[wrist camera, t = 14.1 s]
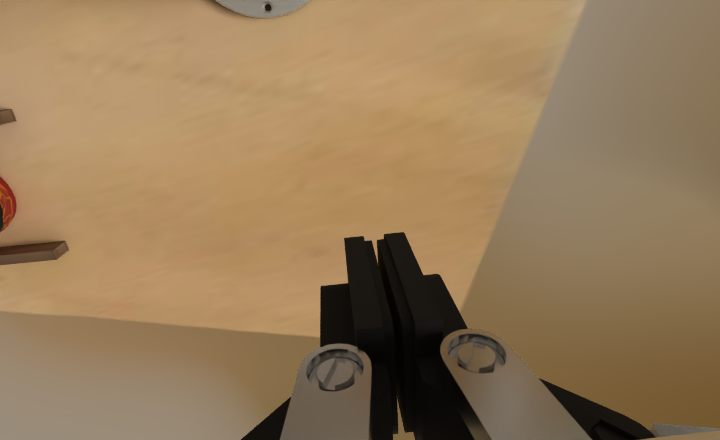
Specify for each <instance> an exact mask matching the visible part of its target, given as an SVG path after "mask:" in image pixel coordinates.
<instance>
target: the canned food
mask: <svg viewBox="0 0 720 440" xmlns="http://www.w3.org/2000/svg"><path fill="white" fill-rule="evenodd" d="M15 212H16V200H15V197H14V194H13V192H12V190H11V189H10V187H9V186H8V184H7V183H6V182H5V181H4V180H3V179H2V178H1V177H0V232H1V231H3V230H4V229H5V228H6V227H7V226H8V225H9V223H10V222H11V220H12V219H13V218H14V215H15Z"/></svg>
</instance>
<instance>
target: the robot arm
mask: <svg viewBox="0 0 720 440" xmlns="http://www.w3.org/2000/svg"><path fill="white" fill-rule="evenodd" d="M215 1H217V2H218V3H219V4H221V5H222V6H224V7H226V8H228V9H230V10H232V11H234V12H236V13H239V14H241V15H244V16H249V17H254V18H277V17H281V16H285V15H288V14H290V13H293V12H295V11H297V10H299V9H301V8H302V7H303V6H304V5H306V4H307V3H308V2H310V1H311V0H215ZM268 4H269V5H270V6H271V10H270V11H266V9H265V6H266V5H268ZM344 241H345V252H346V263H347V274H348V283H346V284H337V285H328V286H321V314H320V348H318V349H316V350H314V351H313V352H311V353H310V354H309V355H308V356H307V357H306V358H305V359H304V360H303V361H302V363H301V365H300V367H299V370H298V374H297V378H296V381H295V385H294V389H293V393H292V396H291V397H290V398H289V399H288V400H287V401H285V402H284V403H283V404H282V405H281V406H280V407H278V408H277V409H276V410H275V411H274V412H273V413H271V414H270V415H269V416H268V417H267V418H266V419H264V420H263V421H262V422H261V423H260V424H259V425H257V426H256V427H255V428H254V429H253V430H252V431H250V432H249V433H248V434H247V435H246V436H245V437H243V438H242V439H241V440H393V434H398V413H397V399H398V403H399V408H400V412H401V417H402V422H403V426H404V430H405V432H414V437H415V440H720V429H715V428H701V427H690V426H677V425H663V424H652V426H651V429H650V430H647V429H646V428H645V427H644V426H642V425H641V424H639V423H638V422H636V421H634V420H632V419H630V418H629V417H626V416H625V415H622V414H620V413H618V412H615V411H613V410H611V409H608V408H606V407H604V406H602V405H599V404H597V403H594V402H592V401H590V400H588V399H586V398H583V397H581V396H579V395H576V394H574V393H572V392H569V391H567V390H565V389H562V388H560V387H558V386H556V385H553V384H551V383H549V382H547V381H544V380H542V379H540V378H538V377H537V376H536V375H535V374H534V372H533V371H532V370H531V369H530V368H529V367H528V366H527V365H526V363H525V362H524V361H523V360H522V359H521V357H520V356H519V355H518V354H517V353H516V352H515V351H514V349H512V347H511V346H510V345H509V344H508V343H507V342H506V341H505V340H503V339H502V338H501V337H499V336H497V335H495V334H493V333H491V332H488V331H484V330H480V329H468V328H467V326H466V324H465V322H464V320H463V319H462V316H461V314H460V313H459V311H458V309H457V307H456V305H455V303H454V301H453V299H452V297H451V295H450V293H449V291H448V290H447V288H446V286H445V284H444V282H443V280H442V278H441V276H440V275H439V274H432V275H423V274H422V271H421V269H420V267H419V265H418V263H417V260H416V258H415V256H414V254H413V251H412V249H411V247H410V245H409V242H408V240H407V238H406V236H405V233H404V232H400V233H390V234H384V239H381V240H377V251H378V263H377V259H376V255H375V252H374V248H373V244H372V240H371V241H364V237H363V236H360V237H350V238H344Z"/></svg>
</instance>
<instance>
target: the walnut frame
mask: <svg viewBox="0 0 720 440" xmlns="http://www.w3.org/2000/svg"><path fill="white" fill-rule="evenodd" d="M14 121H16V119H15V116H14V114H13V111H12V109H11V110H0V125H2V124H6V123H10V122H14ZM68 250H69V249H68V247H67V244H66V242H65V241H63V242H53V243H42V244H32V245H21V246H11V247H0V265H6V264H17V263H27V262H37V261H47V260H57V259H58V258H60V257H61V256H62V255H63V254H64V253H66V252H67V251H68Z"/></svg>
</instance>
